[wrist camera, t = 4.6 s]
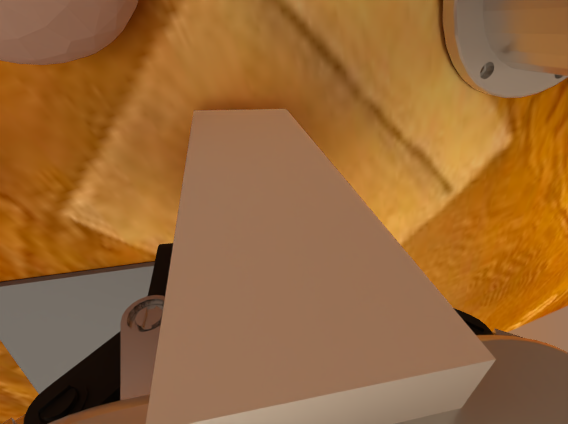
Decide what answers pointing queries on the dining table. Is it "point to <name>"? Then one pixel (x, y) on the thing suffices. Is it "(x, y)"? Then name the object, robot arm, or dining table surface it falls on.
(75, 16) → the egg
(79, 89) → the dining table surface
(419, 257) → the dining table surface
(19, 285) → the mat
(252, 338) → the slab
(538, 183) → the dining table surface
